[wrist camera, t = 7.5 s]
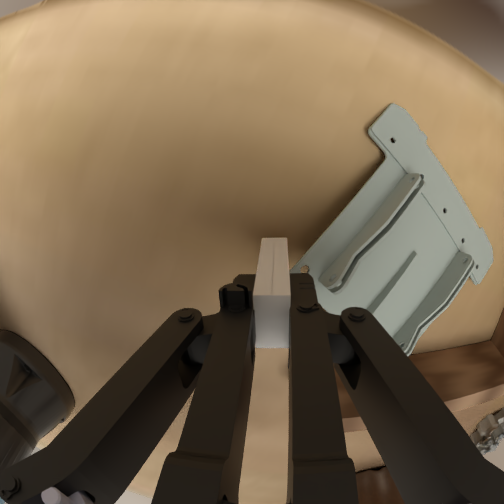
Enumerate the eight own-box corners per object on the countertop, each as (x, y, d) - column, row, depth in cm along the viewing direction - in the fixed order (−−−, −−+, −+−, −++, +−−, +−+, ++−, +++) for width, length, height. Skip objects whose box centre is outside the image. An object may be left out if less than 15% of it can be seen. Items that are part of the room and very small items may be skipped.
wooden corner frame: (289, 379, 24) (289, 435, 18) (291, 132, 16) (298, 130, 11) (496, 352, 22) (520, 388, 16) (545, 167, 14) (591, 183, 9)
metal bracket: (407, 400, 17) (253, 272, 14) (373, 362, 23) (243, 250, 20) (514, 251, 16) (416, 84, 13) (468, 239, 22) (372, 106, 19)
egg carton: (481, 415, 27) (490, 435, 23) (514, 400, 26) (524, 417, 22) (456, 450, 30) (462, 468, 27) (488, 437, 30) (495, 453, 26)
